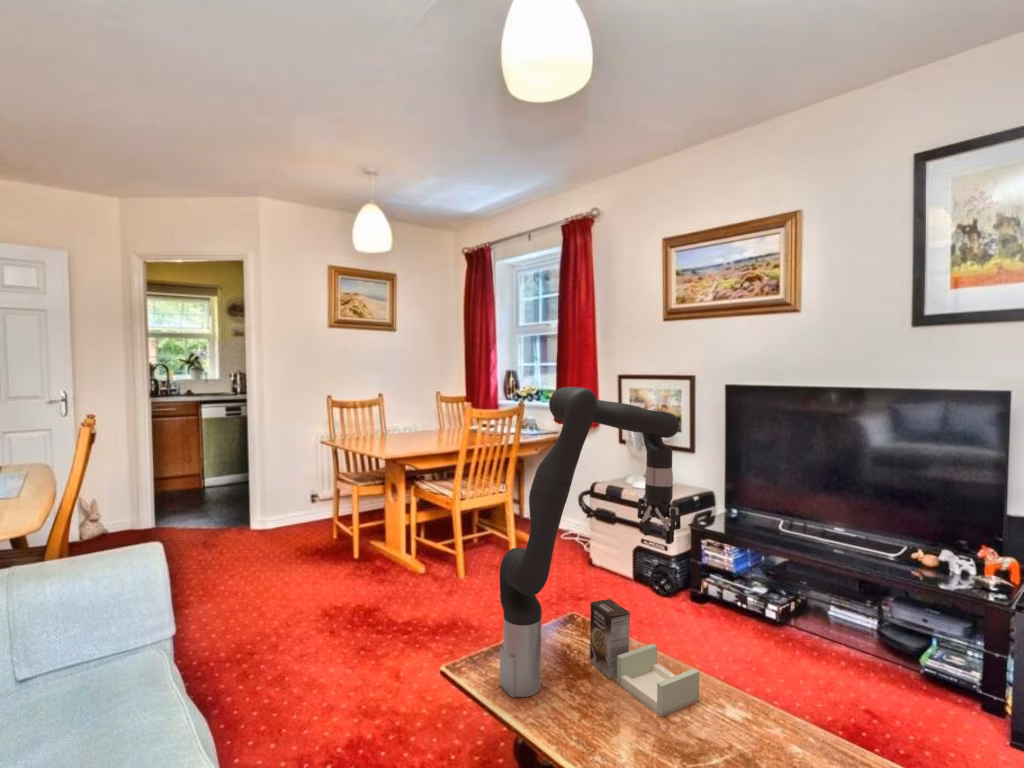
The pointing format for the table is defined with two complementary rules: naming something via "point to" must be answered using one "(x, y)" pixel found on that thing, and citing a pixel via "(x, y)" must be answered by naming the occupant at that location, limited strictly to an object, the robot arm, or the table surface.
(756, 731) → the table surface
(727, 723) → the table surface
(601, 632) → the coffee box
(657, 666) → the caddy
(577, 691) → the table surface
